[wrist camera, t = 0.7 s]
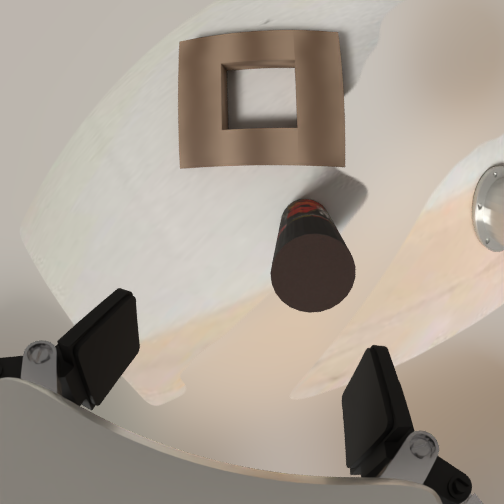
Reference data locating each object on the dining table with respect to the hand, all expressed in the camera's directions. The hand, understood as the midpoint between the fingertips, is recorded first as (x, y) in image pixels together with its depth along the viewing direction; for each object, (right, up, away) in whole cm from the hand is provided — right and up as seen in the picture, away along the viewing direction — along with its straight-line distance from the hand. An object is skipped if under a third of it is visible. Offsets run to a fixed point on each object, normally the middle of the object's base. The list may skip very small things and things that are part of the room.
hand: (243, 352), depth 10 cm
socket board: (+1, +21, +18) cm, 28 cm away
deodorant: (+7, +7, +23) cm, 25 cm away
